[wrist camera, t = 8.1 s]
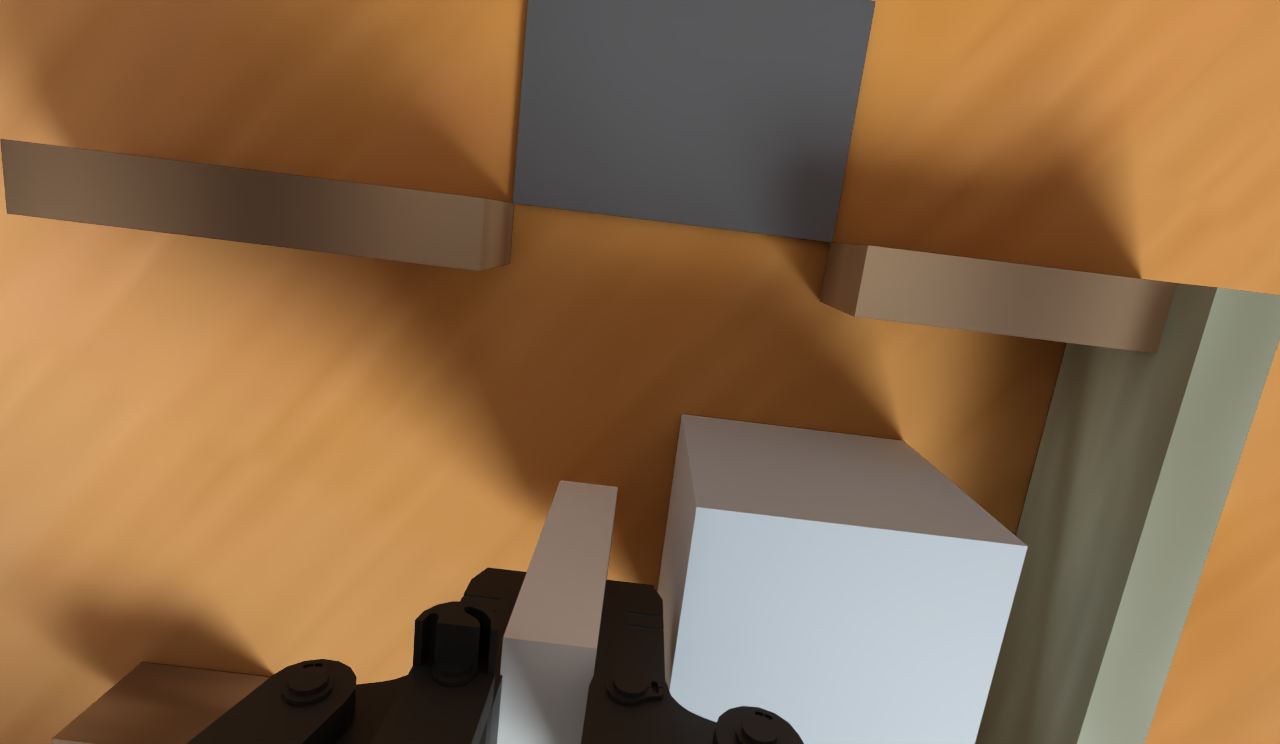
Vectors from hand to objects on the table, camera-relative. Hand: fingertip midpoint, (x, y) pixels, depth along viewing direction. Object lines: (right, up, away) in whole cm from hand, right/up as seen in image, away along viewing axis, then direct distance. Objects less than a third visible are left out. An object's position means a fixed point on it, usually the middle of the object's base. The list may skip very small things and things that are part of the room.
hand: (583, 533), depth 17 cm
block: (+5, 0, +1) cm, 5 cm away
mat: (+3, +10, -1) cm, 11 cm away
